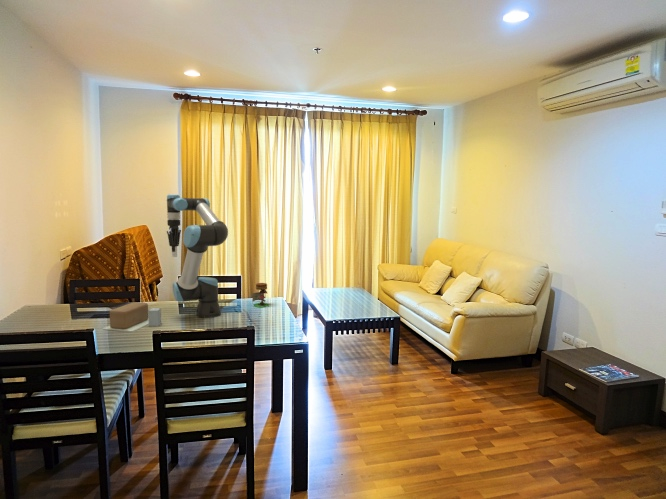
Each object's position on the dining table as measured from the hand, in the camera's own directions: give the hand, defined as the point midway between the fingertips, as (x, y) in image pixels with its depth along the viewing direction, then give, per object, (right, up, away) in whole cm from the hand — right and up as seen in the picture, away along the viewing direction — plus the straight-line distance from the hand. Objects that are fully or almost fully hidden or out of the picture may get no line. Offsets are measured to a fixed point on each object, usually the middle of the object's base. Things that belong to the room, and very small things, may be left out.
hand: (174, 256), depth 264 cm
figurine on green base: (+52, -34, +21) cm, 65 cm away
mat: (-14, -38, -30) cm, 50 cm away
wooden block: (-12, -31, -20) cm, 39 cm away
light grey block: (0, -38, -28) cm, 47 cm away
